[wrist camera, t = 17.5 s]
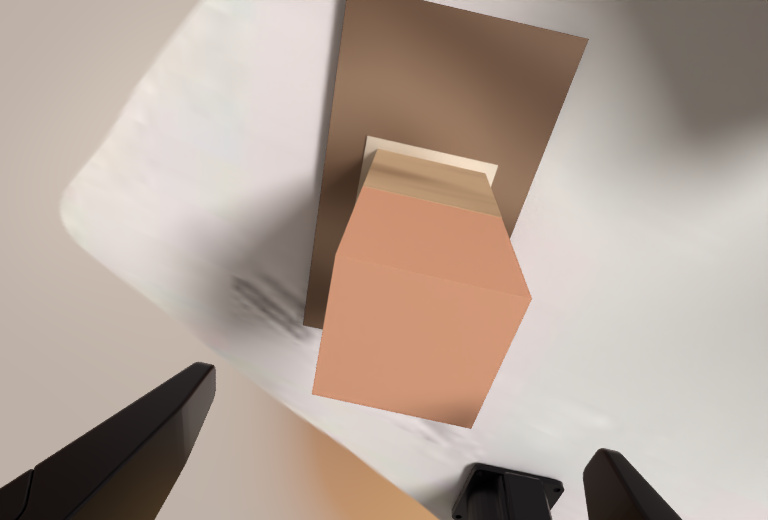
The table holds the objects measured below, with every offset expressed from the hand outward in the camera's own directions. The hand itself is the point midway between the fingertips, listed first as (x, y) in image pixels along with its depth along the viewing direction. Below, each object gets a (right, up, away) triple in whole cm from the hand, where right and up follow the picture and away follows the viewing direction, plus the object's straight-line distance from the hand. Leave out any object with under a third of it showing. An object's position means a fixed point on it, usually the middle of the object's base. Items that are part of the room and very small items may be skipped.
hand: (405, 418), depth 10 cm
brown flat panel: (+1, +6, +11) cm, 13 cm away
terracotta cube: (+1, +4, +6) cm, 7 cm away
